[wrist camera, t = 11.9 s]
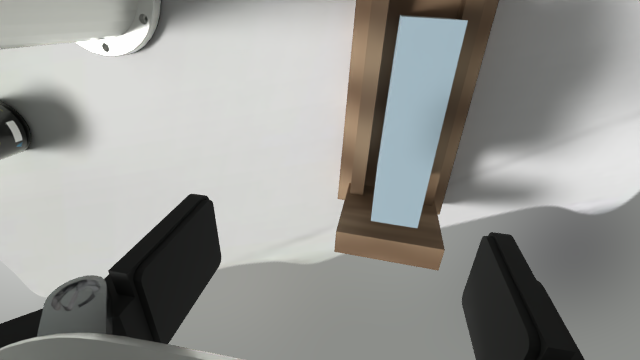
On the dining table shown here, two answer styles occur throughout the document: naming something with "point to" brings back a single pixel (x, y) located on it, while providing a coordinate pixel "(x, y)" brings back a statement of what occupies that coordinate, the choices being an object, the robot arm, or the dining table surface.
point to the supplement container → (12, 132)
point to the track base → (368, 117)
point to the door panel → (414, 114)
